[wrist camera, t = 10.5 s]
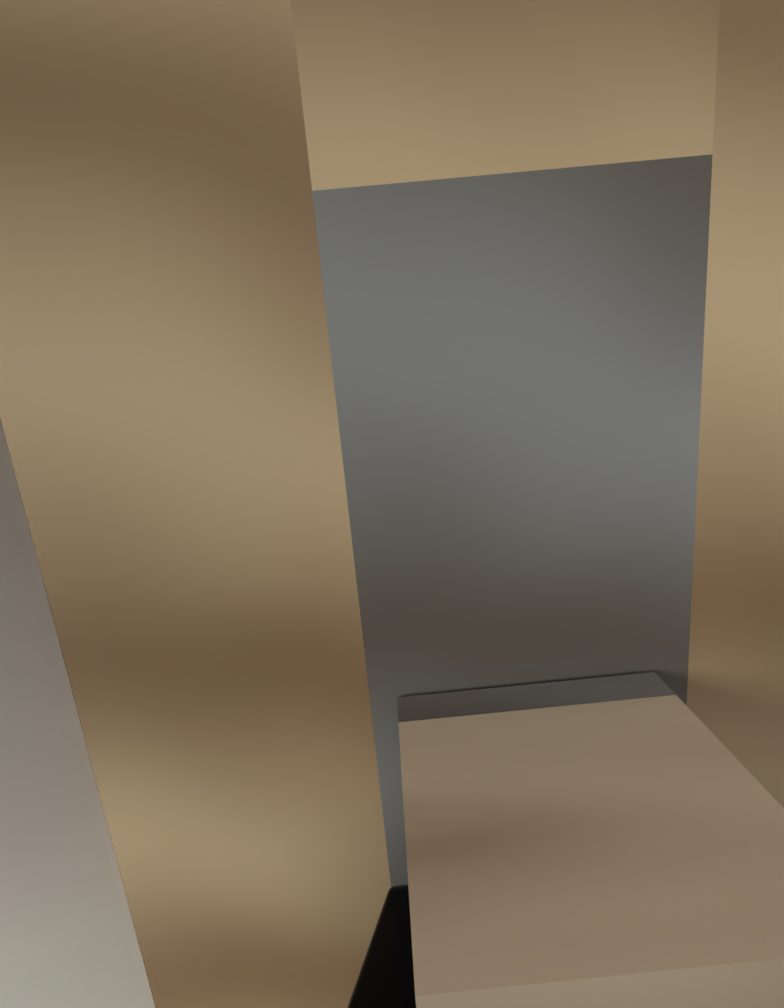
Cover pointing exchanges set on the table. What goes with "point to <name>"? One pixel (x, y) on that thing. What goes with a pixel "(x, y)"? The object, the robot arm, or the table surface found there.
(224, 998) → the board
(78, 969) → the table surface
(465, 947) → the block
